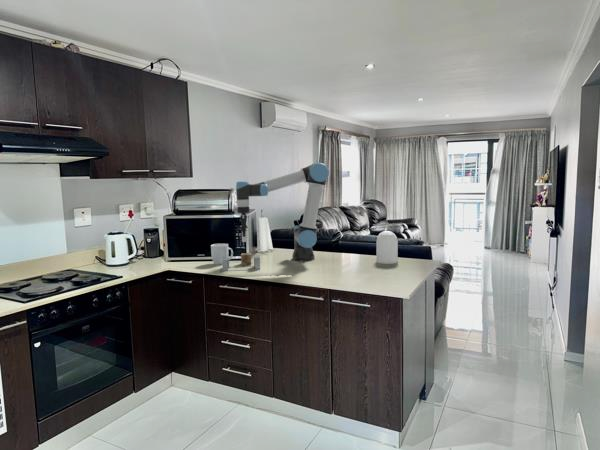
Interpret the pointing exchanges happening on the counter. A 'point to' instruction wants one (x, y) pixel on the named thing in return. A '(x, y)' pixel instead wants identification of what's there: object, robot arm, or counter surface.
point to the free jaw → (257, 261)
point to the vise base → (237, 270)
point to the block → (245, 258)
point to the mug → (220, 252)
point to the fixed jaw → (225, 263)
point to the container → (387, 248)
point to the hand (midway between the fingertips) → (244, 240)
